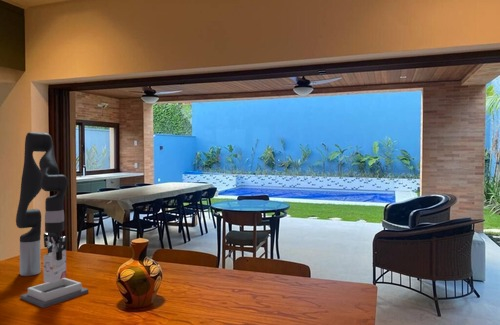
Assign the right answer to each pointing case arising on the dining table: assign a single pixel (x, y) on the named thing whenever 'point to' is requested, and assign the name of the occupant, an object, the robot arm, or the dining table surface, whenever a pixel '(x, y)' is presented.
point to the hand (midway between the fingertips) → (54, 258)
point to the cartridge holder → (54, 292)
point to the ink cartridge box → (54, 266)
